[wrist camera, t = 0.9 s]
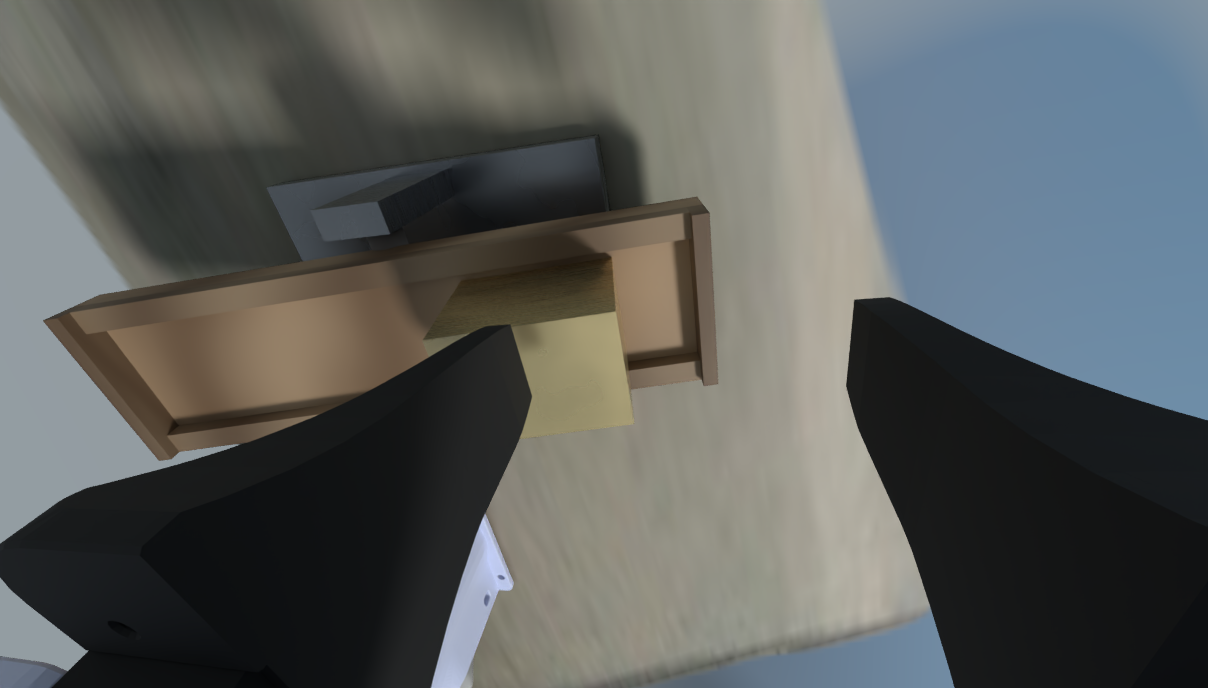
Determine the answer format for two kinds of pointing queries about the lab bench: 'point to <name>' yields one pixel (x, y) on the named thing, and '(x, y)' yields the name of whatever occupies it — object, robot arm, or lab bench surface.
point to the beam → (372, 322)
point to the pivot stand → (444, 196)
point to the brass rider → (553, 340)
